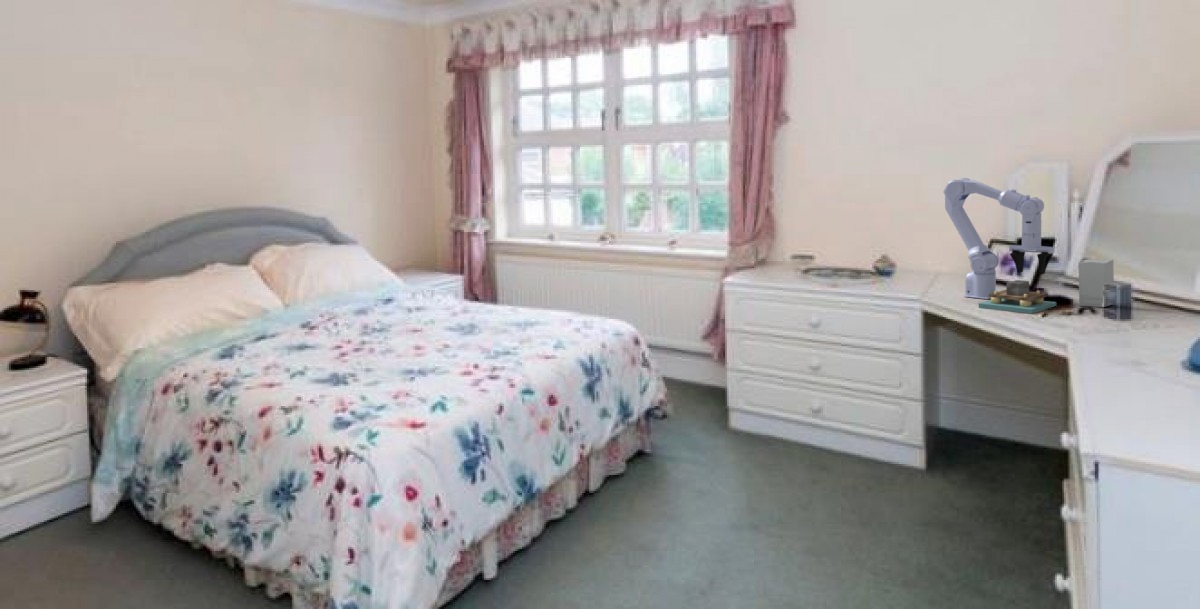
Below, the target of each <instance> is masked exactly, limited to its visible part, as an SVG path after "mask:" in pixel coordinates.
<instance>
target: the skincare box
mask: <svg viewBox="0 0 1200 609" xmlns="http://www.w3.org/2000/svg"><path fill="white" fill-rule="evenodd" d="M1114 275H1115V274H1114V259H1088V258H1087V259H1083V260H1082V261H1079V262H1078V288H1079V289H1078V295H1079V296H1078V297H1079V298H1078V300H1079V302H1078V304H1079V307H1081V306H1083V307H1092V308H1093V307H1095V308H1103V307H1102V303H1103V286H1104V284H1105V283H1111V282H1114V283H1115V281H1114V280H1115V278H1114V277H1115V276H1114Z"/></svg>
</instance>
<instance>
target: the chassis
mask: <svg viewBox="0 0 1200 609" xmlns="http://www.w3.org/2000/svg"><path fill="white" fill-rule="evenodd" d="M998 292H999V290H996V291H995V294H996V295H998ZM1040 293H1041V290H1036V294H1040ZM1024 297H1025V298H1027V294H1024ZM1044 299H1045V297H1044V298H1040V299H1036V300H1033V301H1022V300H1012V299H1003V298H994V297H991V299H988V300H986V301H983V302H979V303H978V308H980V309H985V310H996V311H1004V312H1010V313H1011V312H1013V313H1022V314H1029V315H1032V314H1037V313H1039V311H1040V312H1043V311H1046V310H1045V309H1047V308H1050V307H1054V306H1056V307H1057V301H1049V300H1048V301H1047V300H1044ZM1054 308H1055V307H1054ZM1050 309H1051V308H1050ZM1042 310H1043V311H1042ZM1047 310H1048V309H1047ZM1036 312H1037V313H1036Z"/></svg>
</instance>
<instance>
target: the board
mask: <svg viewBox="0 0 1200 609" xmlns="http://www.w3.org/2000/svg"><path fill="white" fill-rule="evenodd" d="M1024 294H1027V298H1025V297H1024ZM989 297H994V298H1003V299H1012V300H1022V301H1033V300H1036V299H1040V298H1044V299H1045V298H1046V297H1048V292H1047V293H1046V292H1040V294H1036V292H1035V291H1030V281H1029V280H1021V279H1017V280H1013V281H1009V282H1006V289H1002V290H998V295H996V294H995V293H991V294H989Z"/></svg>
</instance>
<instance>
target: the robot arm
mask: <svg viewBox="0 0 1200 609" xmlns="http://www.w3.org/2000/svg"><path fill="white" fill-rule="evenodd" d="M943 194H944V208H945V211H946V213H947V214H948V216H949V218H950V220H951V222H952V223H953V225H954V227H955V229H956V231H957V232H958V234H959V235H960V237H961V239H962V242H963V243H964V245H965V247H966V249H967V250H968V256H967V257H968V259H969V262H970V268H971V270H972V271H970V272H967V274H966V276H965V285H964V286H965V288H964V289H965V291H964V294H965V295H963V297H964V298H971V299H983V300H991V297H989V294H991V293H995V291H997V288H996V287H997V284H996V281H997V278H996V277H997V270H996V268H997V267H998V265H999V263H1000V262H999V258H998V255H997V254H995V253H993V251H991V249H990V247H988V246H987V245H986V244H984V242H983V241H982V238H981V237H980V235H979V234H978V232H977V230H976V227H975V226H974V224H973V223H972V221H971V220H970V217H969V215H968V213H967V211H965V208H964V204H965V202H966V199H967V198H968V197H969V196H970V195H972V194H978V195H980V196H984V197H987V198H990V199H992V200H993V199H994V200H996V201H998V202H999V205H1000V206H1003V207H1005V208H1007V209H1010V210H1013V211H1015V212H1019V213H1020V214H1021V216H1022V217H1021V218H1022V219H1021V220H1022V221H1021V245H1014V244H1013V245H1009V246H1008V252H1011V253H1009V256H1010V257H1011V258H1012V261H1013V262H1014V265H1015V269H1016V271H1017V272H1016V273H1017V274H1019V273H1023V272H1024V259H1025V255H1026V253H1037V255H1036V256H1037V260H1038V273H1039V275H1044V274H1046V271H1047V268H1048V265H1049V263H1050V260H1051V259H1052V257H1053V255H1054V253H1055V251H1056V250H1055V249H1056V248H1055V247H1054V246H1045V245H1042V212H1043V211H1044V209H1045V203H1044V202H1043V200H1042V199H1040V198H1039V197H1036V196H1034V197H1031V195H1030V194H1023V193H1020V192H1017V190H1016V189H1013V188H1012V189H1006V190H1004V191H1003V190H1000V189H999V188H998V189H997V188H996V187H993V186H990V185H988V184H985V183H982V182H981V181H978V180H975V179H970V178H968V177H962V178H959V179H951V180H949V181H948V182H947V183H946V185H945V187H944V190H943Z"/></svg>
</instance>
